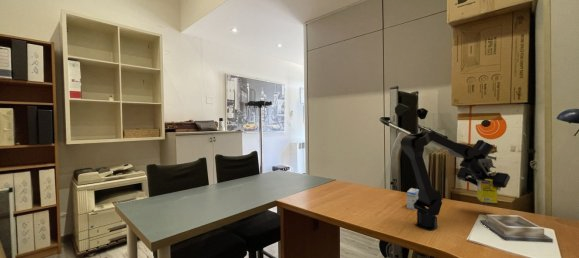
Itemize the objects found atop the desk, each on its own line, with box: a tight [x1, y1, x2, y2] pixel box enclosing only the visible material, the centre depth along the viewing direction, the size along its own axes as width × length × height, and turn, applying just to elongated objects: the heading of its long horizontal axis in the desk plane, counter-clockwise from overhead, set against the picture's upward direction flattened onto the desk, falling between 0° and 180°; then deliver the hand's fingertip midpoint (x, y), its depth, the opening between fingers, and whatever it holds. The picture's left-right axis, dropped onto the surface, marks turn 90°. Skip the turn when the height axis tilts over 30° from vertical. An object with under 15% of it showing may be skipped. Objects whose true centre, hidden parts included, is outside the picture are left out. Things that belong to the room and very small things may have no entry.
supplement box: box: [477, 179, 498, 206], centre depth 110 cm, size 6×6×11 cm
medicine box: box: [406, 187, 419, 211], centre depth 124 cm, size 8×4×9 cm, turn 141°
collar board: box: [479, 214, 554, 243], centre depth 94 cm, size 15×15×4 cm
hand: (488, 187), depth 111 cm, fingers closed on supplement box, 8 cm apart
